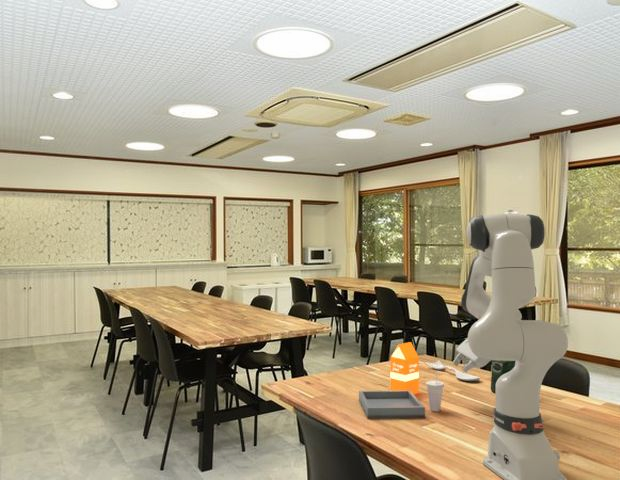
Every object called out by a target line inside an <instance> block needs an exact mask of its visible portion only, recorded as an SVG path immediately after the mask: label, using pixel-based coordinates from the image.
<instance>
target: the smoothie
mask: <svg viewBox="0 0 620 480" xmlns="http://www.w3.org/2000/svg"><path fill="white" fill-rule="evenodd" d="M425 387H426V388H427V389H426V390H427V397H428V406H429V410H430V411H432V412H440V411H441V406H442V399H443V397H442V396H443V390H444V387H445V383H444V382H442V381H439V380H438V370H435V380H428V381H426V382H425Z"/></svg>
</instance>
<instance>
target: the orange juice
mask: <svg viewBox="0 0 620 480" xmlns="http://www.w3.org/2000/svg"><path fill="white" fill-rule="evenodd" d="M419 358H420V357H419V355H418V353H417V351H416V349H415V347H414V345H413V344H412V342H411V341H410V342H409V341H408V342H403V343H400V344H397V346H396V348H395V349H394V351H393V353H392V354H391V356H390V373H389V374H390V376H389V377H390V391H407V390H410V391H411V392H412V393H413V394H414V395H416V394H419V393H420V392H419V390H420V389H419V388H420V385H419V382H420V376H419V375H420V372H419V371H420V369H419V368H420V367H419V365H420V364H419V360H420V359H419Z"/></svg>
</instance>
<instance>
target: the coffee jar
mask: <svg viewBox="0 0 620 480" xmlns="http://www.w3.org/2000/svg"><path fill="white" fill-rule="evenodd" d="M516 363H517V361H502V360H491V377H490V391H491V392H493V393H495V394H496V382H497V380H498V379H499V377H500V376H502V375H503V374H505V373H507V372H509V371H511V370H512V369H513V368H514V367H515V365H516Z"/></svg>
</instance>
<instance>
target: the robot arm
mask: <svg viewBox="0 0 620 480" xmlns="http://www.w3.org/2000/svg"><path fill="white" fill-rule="evenodd" d="M465 235H466V239H467V242H468V244H469V246H470V247H472V248H473V249H474V250H479V254H478V255H476V256H475V257H474V258H473V259H472V261H471V264H470V266H469V267H470V268H469V270H468V271H469V272H468V276H467V279H466V284H465V285H466V286H465V288H464V289H465V290H464V291H463V294H462V296H461V301H460V302H461V308H462V310H463V311H464V312H466V313H468V314H470V315H471V316H473V317H474V318H476V319H477V321H475V322H474V323H473V324H472V325H471V327H470V328H469V330H468V333H467V338H466V339H464V340H463V341H462V342H461V343H460V344H459V345H458V346H457V347H456V350H455V351H456V352H457V353H458V354H457V355H456V356H455V358H454V360H453V361H452V364H453V365H454V366H456V367H457V366H459V365H460V364H461V362H462V360H463V359H466V360H468V363H467V364H465V365H463V366H462V367H461V371H463V373H466V374H467V373H468V372H469V370H472V369H474V368H475V367H476V366H477V367H478V368H483V367H485V366H486V365H488V364H489V363H490V362H492V360H502V361H516V362H515V367H514V368H513V369H512V370H511V371H509V372H507V373H505V374H503V375H502V376H500V377H499V379H498V380H497V382H496V393H495V407H494V409H493V423H494V426H493V427H492V429H491V430H490V431H489V433H488V447H487V457H485V458H483V459H482V464H483V465H484V466H485V467H487V468H488V469H489V470H491V471H492V472H494V473H495V474H496V475H498V476H499V477H500V478H501V479H503V480H568V479H567V477H566V476H565V475H564V474H563V472H562V471H561V470H560V468H559V467H560V465H559V460H560V457H561V456H560V453H559V451H558V450H553V447H552V446H551V441H550V440H548V438H547V437H546V435H545V433H544V430H545V427H544V425H545V424H544V421H543V417H542V414H541V413H540V405H541V404H540V402H541V388H542V383H543V380H544V378H545V376H546V374H547V372H548V371H549V369H551V367H552V366H553V365H554V364H555V363H556V362H558V361H559V360H560V359H562V358H563V357H564V356H565V354H566V353H567V351H568V348H569V339H568V336H567V335H568V334H567V333H566V331H565V330H564V329H563V326H561V325H560V324H558V323H555V322H551V321H546V320H538V319H537V320H536V319H535V320H532V319H531V320H530V319H528V320H527V319H522V318H523V316H522V313H521V311H520V310H519V309H522V308H523V307H525V306H527V305H529V304H530V303H531V302H532V301H534V299H535V297H536V294H537V293H536V292H537V291H536V277H535V276H536V275H535V264H534V256H533V252H532V250H535V249H539V248H540V247H541V246H542V245H543V244H544V241H545V237H546V227H545V224H544V220H543V219H542V218H541V217H540V216H539V215H534V214H510V213H509V214H508V213H507V214H505V213H498V214H496V213H495V214H489V215H483V214H481V215H477V216H473V217H471V218H470V219H469V221H468V224H467V227H466V232H465ZM486 277H490V278H491V294H489V293H488V292H487V291H486V290H485V289H484V283H485V278H486Z"/></svg>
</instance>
